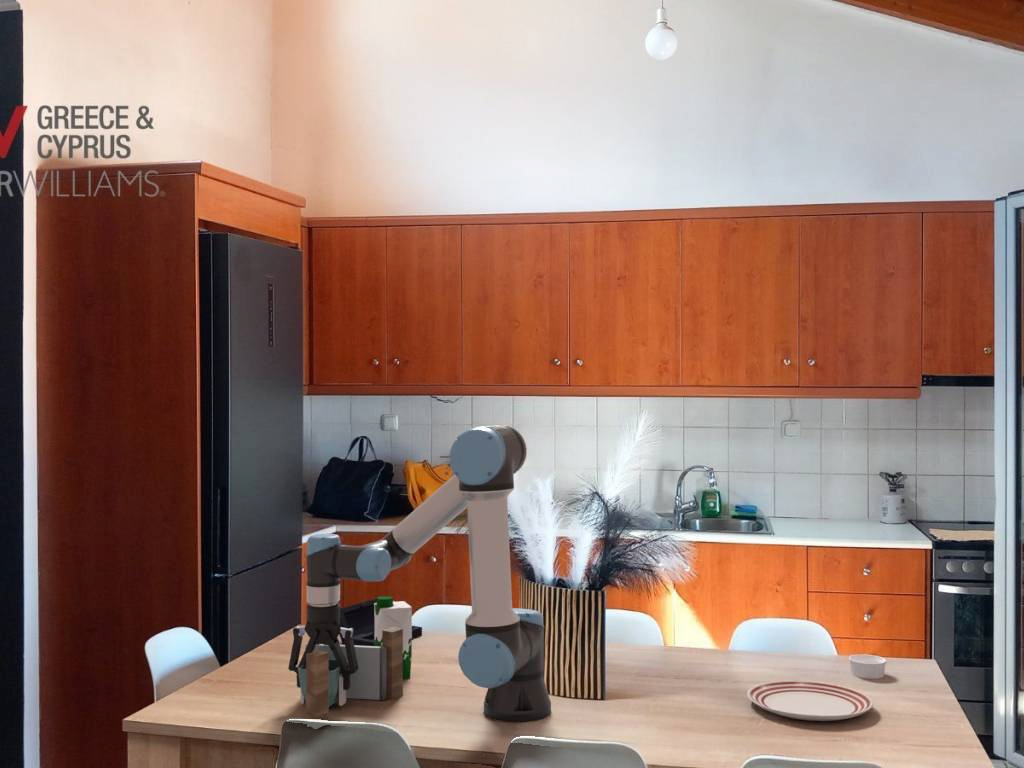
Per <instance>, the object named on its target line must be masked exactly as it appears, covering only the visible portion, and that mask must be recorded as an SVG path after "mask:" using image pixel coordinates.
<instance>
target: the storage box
mask: <svg viewBox="0 0 1024 768" xmlns="http://www.w3.org/2000/svg"><path fill="white" fill-rule="evenodd" d="M374 603H377V597H376V598H373V599H369V600H366V601H362V602H359V603H356V604H355V603H354V604H352V605H349V606H345V607H340V624H341V626H342V628H347V629H349V628H353V629H354V633H353V642H354V645H357V646H375V616H374ZM338 636H339V637H340V638H339V639H340V641H341V645H345V642H344V639H345V638H343V636H342V633H340V634H339V635H338ZM421 636H423V627H422V626H419V625H418V626H416V625H412V640H413V639H416V638H419V637H421Z"/></svg>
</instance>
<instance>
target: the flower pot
mask: <svg viewBox="0 0 1024 768" xmlns="http://www.w3.org/2000/svg"><path fill="white" fill-rule="evenodd" d="M346 661H347V663H348V660H346ZM298 672H299V680H300V687H301V688H300V692H301V691H302V694H303V696H304V698H305V700H306V664H305V665H303V666H301V667H300V668H298ZM340 675H342V673H341V670H340V667H339V666H338V663H337V661H336V660H335V659H329V707H331V706H332V705H333V704H335V703H336V702H337V701H339V676H340Z"/></svg>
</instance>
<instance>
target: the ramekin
mask: <svg viewBox="0 0 1024 768" xmlns="http://www.w3.org/2000/svg"><path fill="white" fill-rule="evenodd" d="M848 660H849V665H850V667H849V668H850V674H851V675H852V676H855V677H857V678H859V679H860V678H861V679H870V680H871V679H872V680H876V679H882V678H884V677H885V669H886V665H887V660H886V658H884V657H881V656H880V655H879V656H878V655H874V654H865V653H863V654H851V655H850V656H849V657H848Z"/></svg>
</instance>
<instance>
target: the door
mask: <svg viewBox="0 0 1024 768" xmlns="http://www.w3.org/2000/svg"><path fill="white" fill-rule="evenodd" d="M307 644H308V642H307V643H305V646H304V647H305V650H306V647H307ZM340 647H341V649H342V651H343V654H344V656H345V658H346V660H348V659H347V653H346V648H345V645H343V644H340ZM354 647H355V653H356V658H357V664H358V670H357V671H356V672H355V673H354V674H350V687H349V689H348V690H346V699H357V700H358V699H361V700H375V701H376V700H378V701H379V700H381V701H385V700H388V699H387V647H378V646H357V645H354ZM305 650H304V651H305ZM318 650H320V651H325V652H329V659H335V657H334V654H333V652H332V650H331V649H330V647H329V645H323V644H320V645H316V646H315V648H314V650H313V652H314V651H318ZM335 660H336V659H335ZM348 665H349V664H348Z"/></svg>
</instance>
